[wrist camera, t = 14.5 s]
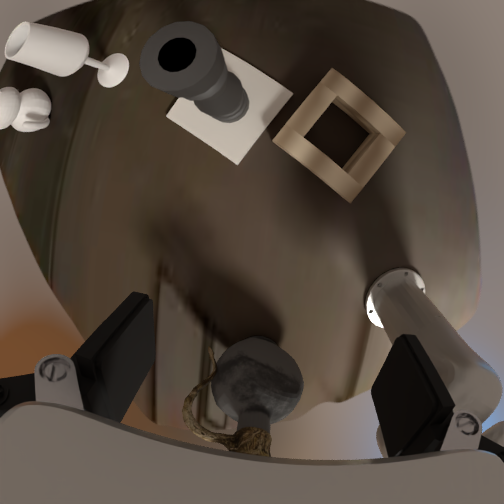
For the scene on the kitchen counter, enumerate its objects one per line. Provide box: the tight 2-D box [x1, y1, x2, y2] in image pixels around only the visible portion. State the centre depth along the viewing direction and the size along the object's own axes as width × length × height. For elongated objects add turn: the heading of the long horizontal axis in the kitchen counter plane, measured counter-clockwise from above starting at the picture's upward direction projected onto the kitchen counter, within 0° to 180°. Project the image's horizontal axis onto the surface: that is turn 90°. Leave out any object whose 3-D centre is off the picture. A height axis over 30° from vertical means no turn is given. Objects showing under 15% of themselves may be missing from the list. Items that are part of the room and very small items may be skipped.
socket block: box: [272, 68, 406, 203], centre depth 38 cm, size 14×14×5 cm
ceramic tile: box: [166, 48, 293, 165], centre depth 39 cm, size 14×14×1 cm
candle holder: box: [139, 21, 249, 123], centre depth 27 cm, size 6×6×25 cm
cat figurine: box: [0, 87, 51, 132], centre depth 34 cm, size 9×12×15 cm
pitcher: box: [182, 336, 304, 457], centre depth 41 cm, size 11×19×30 cm, turn 57°
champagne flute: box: [5, 22, 129, 87], centre depth 27 cm, size 7×7×24 cm
